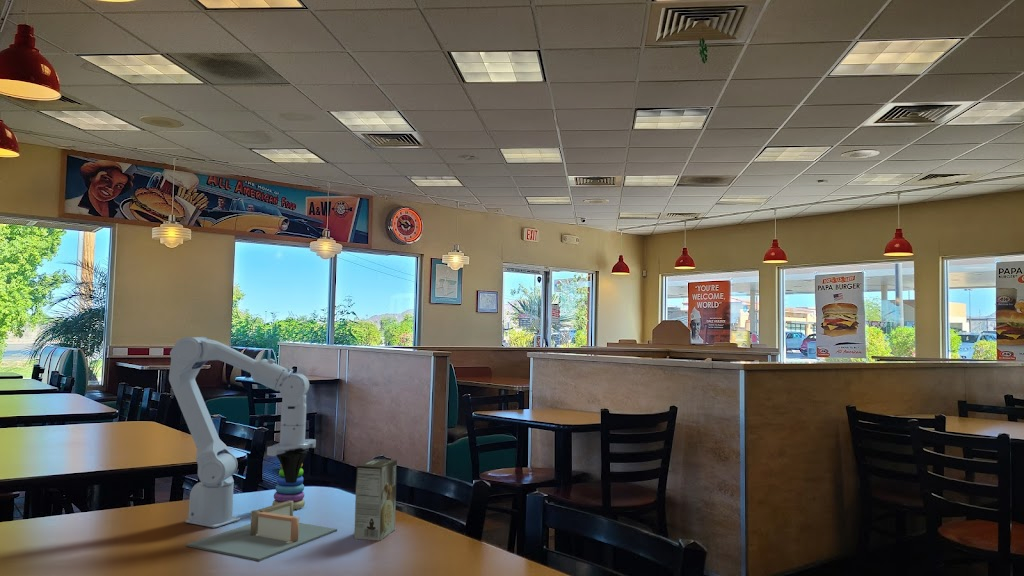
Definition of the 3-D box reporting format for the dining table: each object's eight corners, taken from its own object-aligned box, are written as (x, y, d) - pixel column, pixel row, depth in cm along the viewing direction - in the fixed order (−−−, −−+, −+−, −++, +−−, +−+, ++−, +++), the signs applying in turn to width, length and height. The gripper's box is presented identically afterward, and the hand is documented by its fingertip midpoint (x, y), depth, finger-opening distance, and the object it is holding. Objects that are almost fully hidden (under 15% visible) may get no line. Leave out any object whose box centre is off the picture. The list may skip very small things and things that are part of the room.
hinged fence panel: (256, 535, 154) (257, 513, 155) (261, 533, 156) (262, 511, 156) (294, 541, 150) (295, 519, 151) (299, 539, 152) (300, 517, 152)
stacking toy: (286, 513, 175) (289, 436, 177) (265, 507, 180) (269, 433, 181) (311, 506, 182) (314, 433, 183) (290, 502, 186) (293, 430, 188)
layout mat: (186, 546, 147) (186, 543, 148) (269, 519, 169) (269, 517, 169) (259, 561, 139) (259, 558, 139) (337, 530, 161) (337, 528, 161)
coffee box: (369, 527, 164) (372, 457, 165) (395, 530, 163) (398, 459, 164) (353, 539, 155) (355, 465, 156) (380, 541, 154) (383, 466, 155)
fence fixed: (248, 536, 155) (249, 511, 155) (288, 523, 166) (289, 499, 167) (254, 537, 154) (255, 512, 155) (294, 524, 166) (295, 500, 166)
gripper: (284, 429, 160) (282, 490, 159) (326, 422, 173) (324, 478, 172) (261, 426, 163) (258, 486, 162) (303, 420, 176) (301, 475, 175)
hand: (290, 482), depth 167 cm, fingers closed
